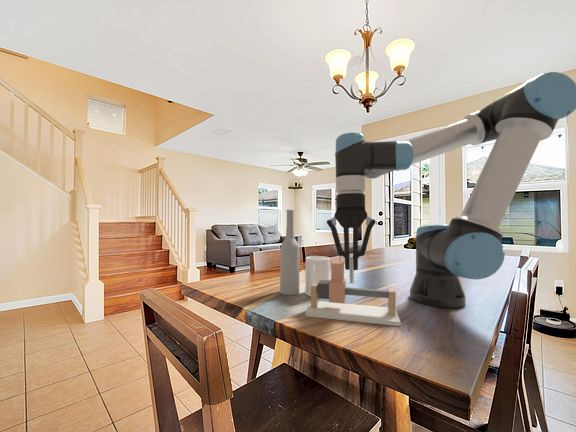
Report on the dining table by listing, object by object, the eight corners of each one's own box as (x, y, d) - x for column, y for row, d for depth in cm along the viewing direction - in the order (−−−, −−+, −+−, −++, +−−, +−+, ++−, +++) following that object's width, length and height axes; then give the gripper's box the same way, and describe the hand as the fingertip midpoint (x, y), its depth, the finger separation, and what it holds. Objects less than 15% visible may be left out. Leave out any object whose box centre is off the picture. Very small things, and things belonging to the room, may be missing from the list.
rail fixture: (395, 311, 74) (395, 282, 74) (400, 326, 64) (400, 292, 64) (312, 303, 80) (312, 276, 80) (305, 316, 70) (305, 285, 70)
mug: (323, 301, 82) (323, 262, 82) (297, 298, 85) (297, 260, 85) (333, 291, 93) (333, 256, 93) (309, 288, 96) (310, 255, 96)
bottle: (275, 292, 92) (276, 209, 92) (290, 288, 96) (290, 210, 96) (289, 296, 87) (289, 209, 87) (303, 292, 91) (304, 209, 91)
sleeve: (345, 297, 75) (345, 261, 75) (344, 303, 70) (344, 265, 70) (331, 296, 76) (331, 260, 76) (328, 302, 71) (329, 264, 71)
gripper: (374, 193, 74) (375, 280, 74) (328, 195, 77) (329, 277, 77) (375, 191, 66) (377, 287, 66) (324, 193, 70) (326, 284, 70)
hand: (351, 282), depth 72 cm, fingers closed
